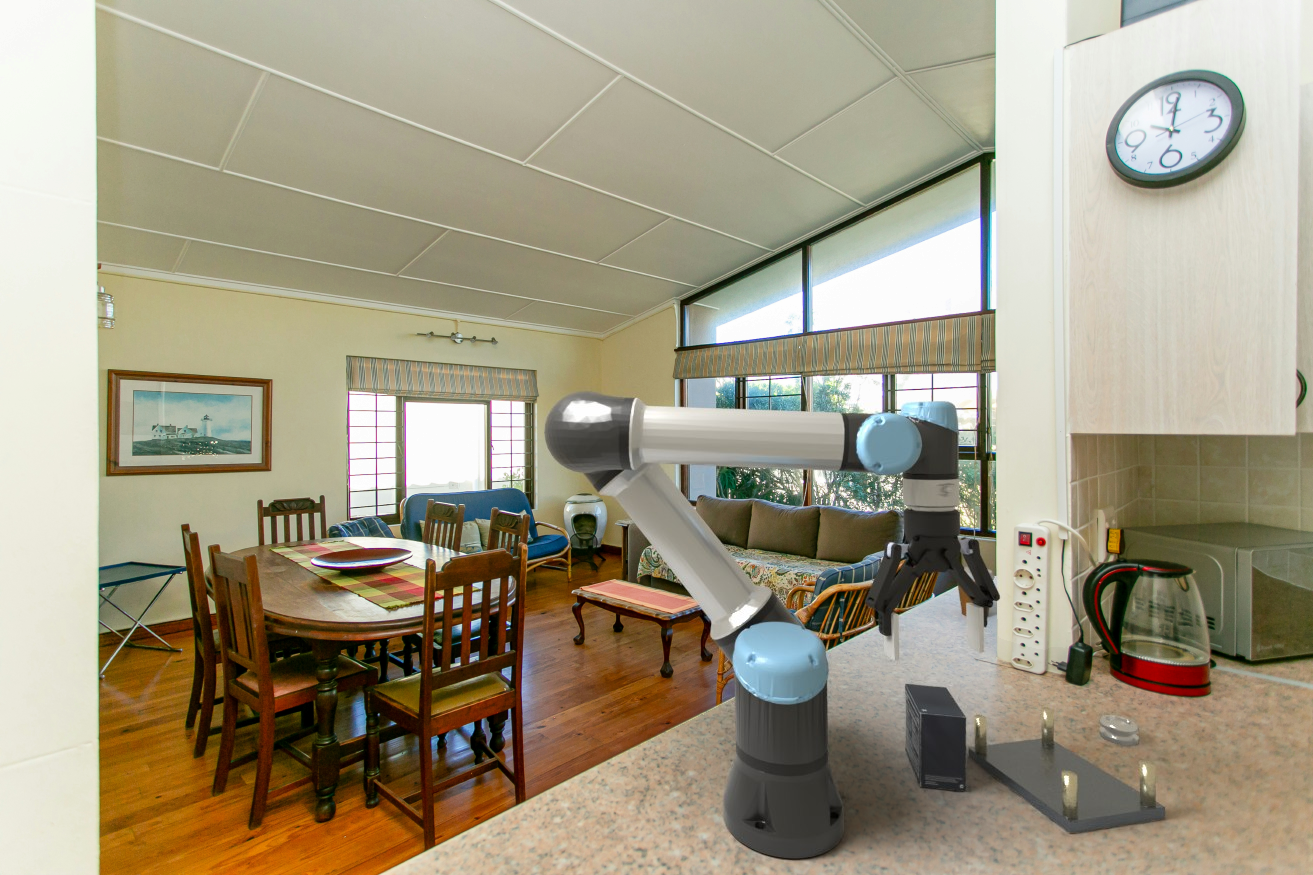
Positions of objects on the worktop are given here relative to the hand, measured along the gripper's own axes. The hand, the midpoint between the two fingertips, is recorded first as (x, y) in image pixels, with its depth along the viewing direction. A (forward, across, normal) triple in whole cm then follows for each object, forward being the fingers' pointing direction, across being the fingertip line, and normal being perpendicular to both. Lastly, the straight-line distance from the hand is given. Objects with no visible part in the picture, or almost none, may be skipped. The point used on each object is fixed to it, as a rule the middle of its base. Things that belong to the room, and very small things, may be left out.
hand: (934, 653), depth 88 cm
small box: (+17, 0, 0) cm, 17 cm away
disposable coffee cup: (+17, +58, +65) cm, 89 cm away
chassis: (+17, +14, -7) cm, 23 cm away
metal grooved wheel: (+18, +34, +2) cm, 38 cm away
